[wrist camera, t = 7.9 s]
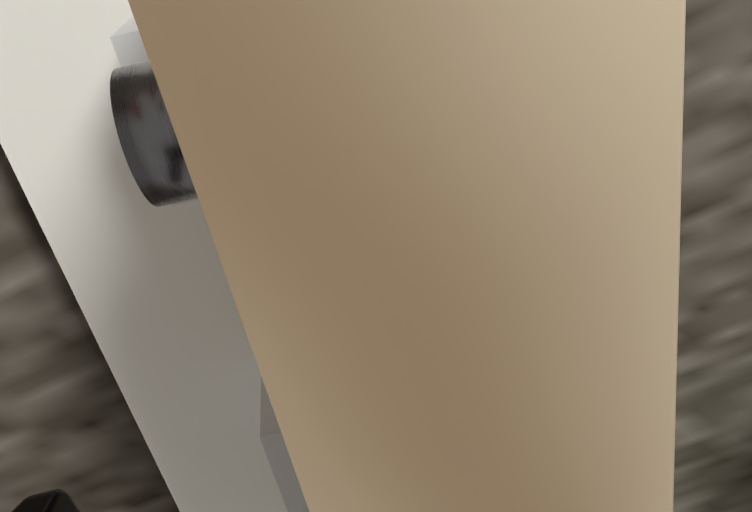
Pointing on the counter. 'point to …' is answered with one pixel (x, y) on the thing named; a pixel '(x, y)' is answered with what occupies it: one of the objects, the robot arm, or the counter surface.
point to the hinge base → (138, 262)
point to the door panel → (436, 234)
